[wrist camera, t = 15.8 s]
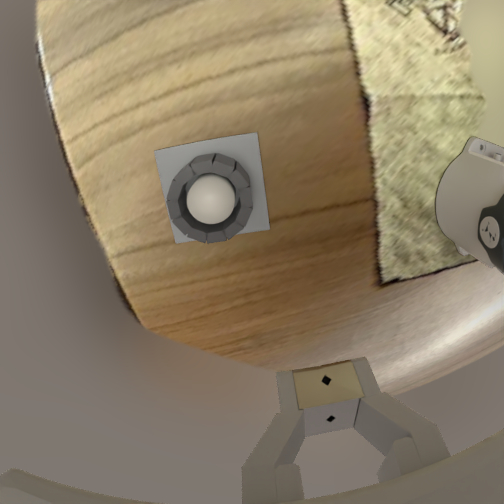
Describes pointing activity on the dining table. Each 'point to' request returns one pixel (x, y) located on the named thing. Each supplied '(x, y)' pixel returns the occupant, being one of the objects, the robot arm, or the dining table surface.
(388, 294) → the dining table surface
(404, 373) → the dining table surface
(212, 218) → the cap
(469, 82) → the dining table surface
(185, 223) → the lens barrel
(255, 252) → the dining table surface
